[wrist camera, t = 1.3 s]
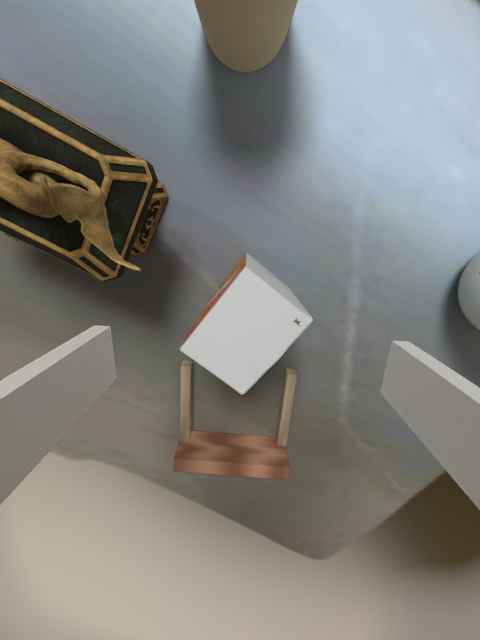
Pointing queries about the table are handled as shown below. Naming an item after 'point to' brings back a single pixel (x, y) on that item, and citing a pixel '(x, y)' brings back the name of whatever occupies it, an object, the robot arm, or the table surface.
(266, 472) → the keeper seat
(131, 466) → the table surface
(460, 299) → the vase
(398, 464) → the table surface
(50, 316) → the table surface
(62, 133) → the decorative box
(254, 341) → the small box
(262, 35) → the coffee cup
